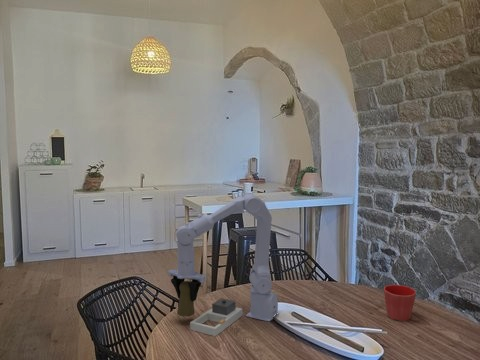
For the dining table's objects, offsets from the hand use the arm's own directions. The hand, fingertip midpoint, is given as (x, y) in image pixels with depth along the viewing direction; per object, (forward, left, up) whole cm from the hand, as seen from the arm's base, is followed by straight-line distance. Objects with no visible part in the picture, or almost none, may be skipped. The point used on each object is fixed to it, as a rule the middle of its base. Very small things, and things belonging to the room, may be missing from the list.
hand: (187, 299), depth 143 cm
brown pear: (+1, 0, -5) cm, 5 cm away
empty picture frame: (-9, -4, -8) cm, 13 cm away
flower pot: (-64, -39, -8) cm, 75 cm away
